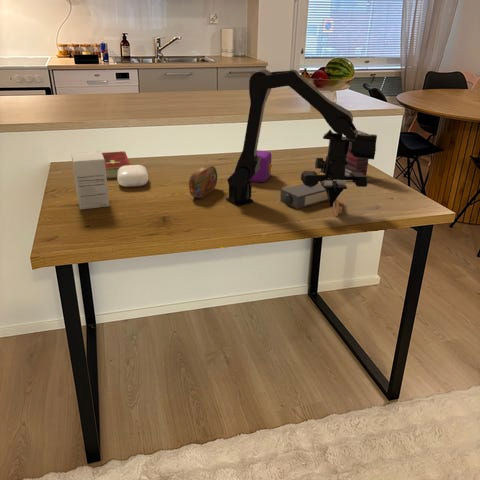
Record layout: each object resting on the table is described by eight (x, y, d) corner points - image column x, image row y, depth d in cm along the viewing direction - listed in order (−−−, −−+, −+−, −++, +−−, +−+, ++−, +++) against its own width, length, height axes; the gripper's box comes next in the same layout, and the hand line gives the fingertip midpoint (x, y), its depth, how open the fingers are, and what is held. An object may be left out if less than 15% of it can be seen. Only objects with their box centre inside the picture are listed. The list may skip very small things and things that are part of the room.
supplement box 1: (77, 199, 150) (70, 152, 143) (106, 196, 153) (101, 150, 146) (79, 210, 142) (72, 161, 135) (110, 206, 145) (105, 158, 138)
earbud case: (117, 190, 158) (116, 174, 156) (118, 177, 170) (116, 163, 167) (149, 188, 160) (148, 173, 158) (147, 176, 172) (146, 161, 169)
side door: (341, 216, 141) (342, 204, 140) (334, 215, 141) (336, 204, 140) (337, 199, 154) (338, 188, 152) (331, 198, 154) (332, 188, 152)
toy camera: (271, 172, 179) (273, 145, 174) (270, 184, 167) (271, 156, 162) (243, 170, 180) (243, 144, 175) (239, 182, 167) (240, 154, 163)
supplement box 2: (366, 178, 174) (372, 135, 167) (355, 179, 173) (361, 136, 166) (353, 171, 181) (358, 129, 174) (342, 172, 180) (347, 130, 173)
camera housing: (294, 209, 146) (296, 195, 144) (277, 201, 152) (278, 188, 150) (329, 200, 154) (331, 186, 152) (312, 192, 160) (313, 179, 158)
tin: (196, 201, 150) (195, 176, 146) (187, 200, 151) (186, 174, 148) (218, 187, 162) (218, 163, 159) (209, 186, 164) (209, 162, 160)
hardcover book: (126, 160, 189) (125, 150, 187) (133, 177, 171) (132, 166, 169) (95, 163, 186) (93, 152, 184) (98, 180, 168) (97, 168, 166)
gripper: (360, 149, 145) (352, 197, 152) (300, 147, 144) (294, 196, 150) (372, 159, 135) (363, 210, 142) (307, 157, 134) (302, 209, 140)
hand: (330, 206), depth 144 cm, fingers closed
